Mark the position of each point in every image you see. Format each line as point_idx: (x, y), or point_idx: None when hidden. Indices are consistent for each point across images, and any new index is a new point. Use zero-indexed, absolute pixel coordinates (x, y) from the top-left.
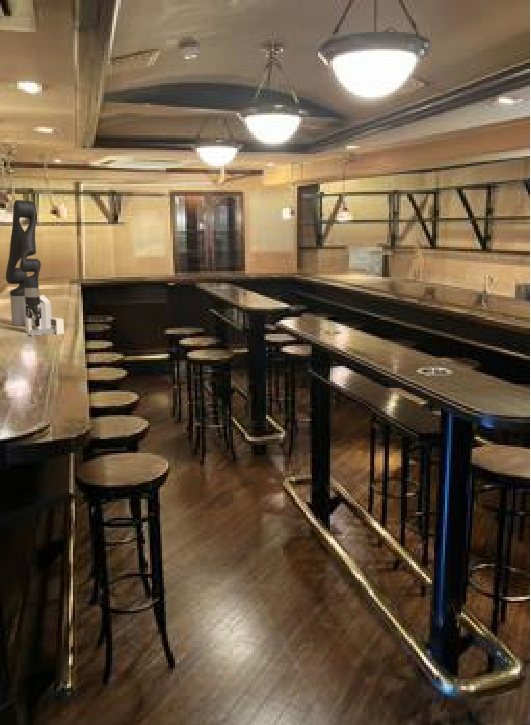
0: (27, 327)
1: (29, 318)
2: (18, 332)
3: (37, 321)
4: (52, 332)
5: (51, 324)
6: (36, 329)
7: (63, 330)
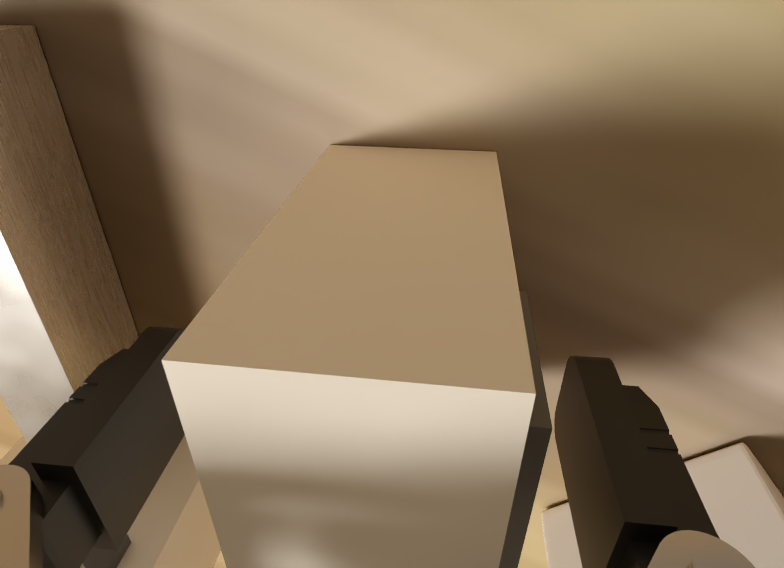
0: (382, 196)
1: (291, 447)
2: (655, 3)
3: (43, 446)
4: None
5: None
6: (1, 229)
7: None
